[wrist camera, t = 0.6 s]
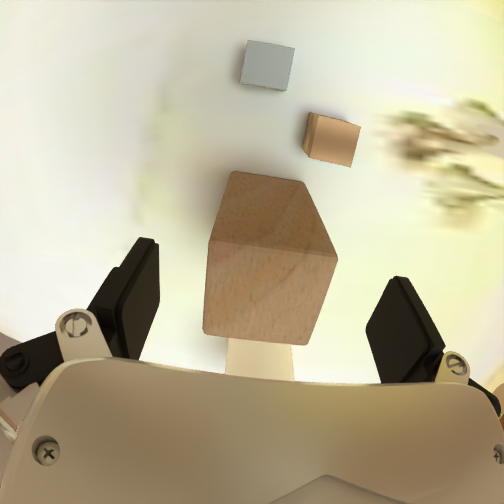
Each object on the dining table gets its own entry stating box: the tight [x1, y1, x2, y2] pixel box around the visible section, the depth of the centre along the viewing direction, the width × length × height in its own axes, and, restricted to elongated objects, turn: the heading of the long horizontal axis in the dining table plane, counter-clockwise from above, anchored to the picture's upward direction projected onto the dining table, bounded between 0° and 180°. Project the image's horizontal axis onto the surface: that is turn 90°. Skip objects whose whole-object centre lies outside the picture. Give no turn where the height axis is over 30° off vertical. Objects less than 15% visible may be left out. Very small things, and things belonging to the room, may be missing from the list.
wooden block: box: [202, 172, 338, 345], centre depth 33 cm, size 10×10×20 cm
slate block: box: [240, 40, 295, 91], centre depth 30 cm, size 5×5×6 cm
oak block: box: [302, 113, 361, 168], centre depth 34 cm, size 5×5×6 cm
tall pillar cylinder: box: [225, 338, 294, 381], centre depth 42 cm, size 11×11×25 cm
